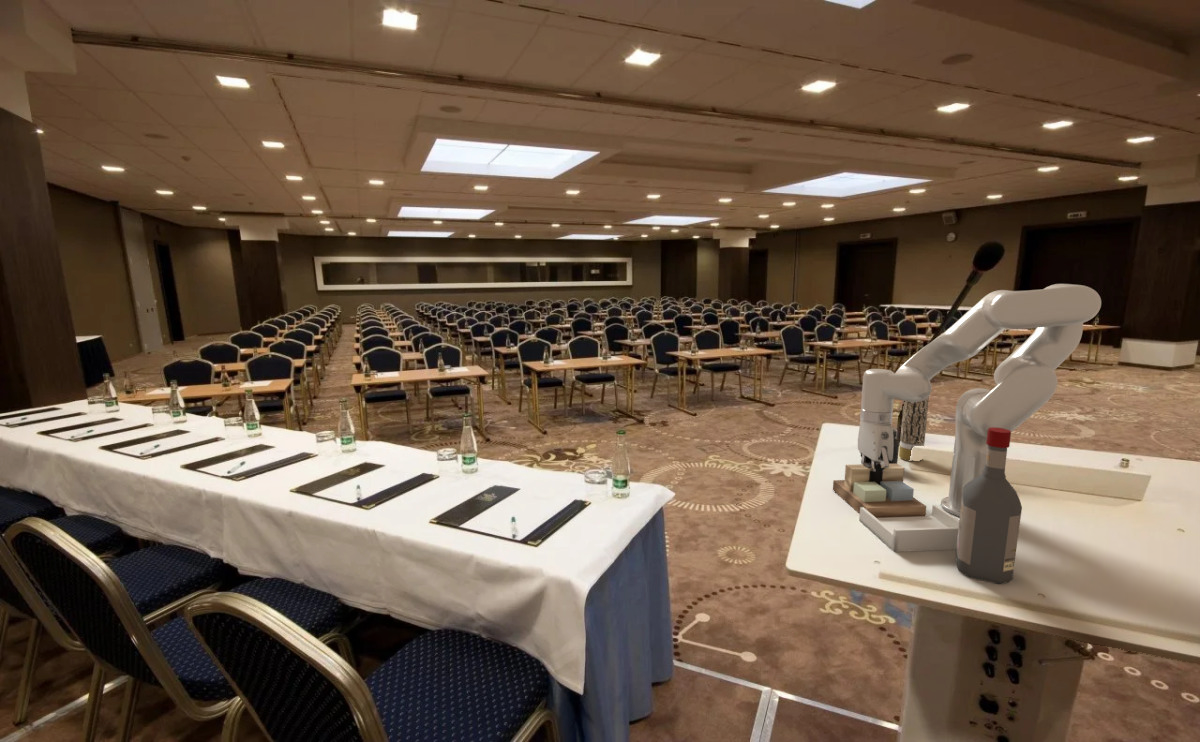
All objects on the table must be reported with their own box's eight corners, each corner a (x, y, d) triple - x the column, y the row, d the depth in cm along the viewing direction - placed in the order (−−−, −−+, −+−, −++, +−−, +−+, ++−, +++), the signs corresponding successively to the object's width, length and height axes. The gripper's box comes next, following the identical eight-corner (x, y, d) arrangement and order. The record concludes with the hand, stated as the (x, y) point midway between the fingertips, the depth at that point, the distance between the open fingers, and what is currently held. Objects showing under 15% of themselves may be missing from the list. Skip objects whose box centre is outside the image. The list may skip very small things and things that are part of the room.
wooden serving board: (925, 517, 134) (926, 506, 133) (866, 519, 133) (867, 508, 133) (885, 488, 151) (885, 478, 151) (832, 490, 151) (833, 480, 150)
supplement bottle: (875, 469, 166) (878, 432, 164) (870, 462, 172) (872, 426, 170) (899, 471, 164) (903, 433, 162) (893, 463, 171) (896, 427, 169)
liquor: (956, 575, 108) (972, 432, 103) (954, 555, 116) (969, 421, 111) (1013, 588, 104) (1033, 439, 98) (1006, 566, 112) (1025, 427, 106)
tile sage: (885, 501, 136) (886, 490, 136) (864, 501, 136) (865, 490, 136) (873, 492, 142) (874, 481, 141) (853, 493, 142) (854, 482, 141)
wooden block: (902, 489, 143) (904, 466, 142) (850, 490, 143) (852, 467, 142) (894, 484, 147) (896, 461, 146) (844, 485, 146) (845, 462, 145)
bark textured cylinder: (894, 457, 176) (900, 382, 172) (907, 454, 179) (914, 380, 174) (913, 463, 170) (920, 386, 166) (927, 460, 173) (935, 384, 168)
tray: (978, 548, 118) (980, 527, 118) (893, 551, 118) (895, 530, 117) (934, 518, 133) (936, 499, 132) (859, 520, 133) (860, 501, 132)
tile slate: (912, 500, 137) (913, 489, 136) (891, 501, 136) (892, 489, 136) (899, 491, 142) (900, 480, 142) (879, 492, 142) (880, 481, 141)
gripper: (908, 424, 133) (902, 494, 137) (873, 407, 149) (869, 470, 153) (878, 425, 133) (873, 494, 136) (847, 408, 149) (843, 471, 153)
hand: (871, 481), depth 145 cm, fingers closed on wooden block, 3 cm apart
